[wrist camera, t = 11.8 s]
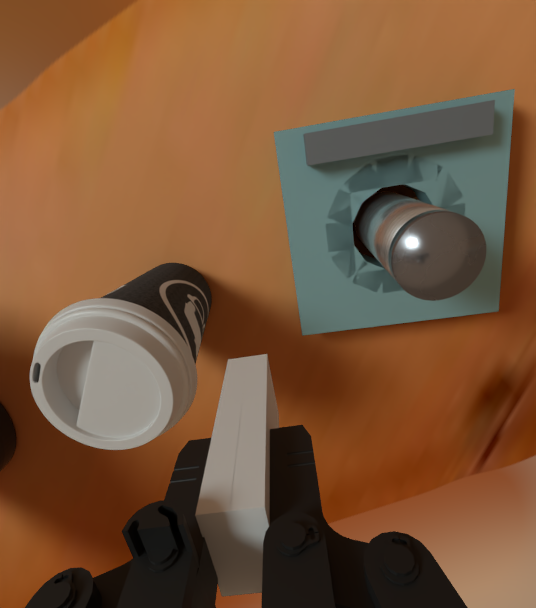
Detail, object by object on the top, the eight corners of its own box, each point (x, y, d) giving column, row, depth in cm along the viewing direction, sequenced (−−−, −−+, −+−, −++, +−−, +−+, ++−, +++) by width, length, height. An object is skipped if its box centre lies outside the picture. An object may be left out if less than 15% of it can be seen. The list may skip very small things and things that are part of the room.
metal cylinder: (356, 253, 32) (394, 305, 21) (352, 196, 30) (391, 220, 19) (413, 245, 31) (484, 294, 20) (412, 186, 30) (488, 205, 19)
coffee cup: (165, 222, 32) (71, 275, 18) (249, 294, 34) (224, 391, 20) (105, 298, 35) (-17, 395, 21) (186, 360, 37) (125, 486, 23)
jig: (301, 320, 34) (303, 344, 30) (274, 134, 29) (273, 130, 24) (480, 298, 33) (509, 319, 29) (490, 95, 27) (529, 84, 23)
